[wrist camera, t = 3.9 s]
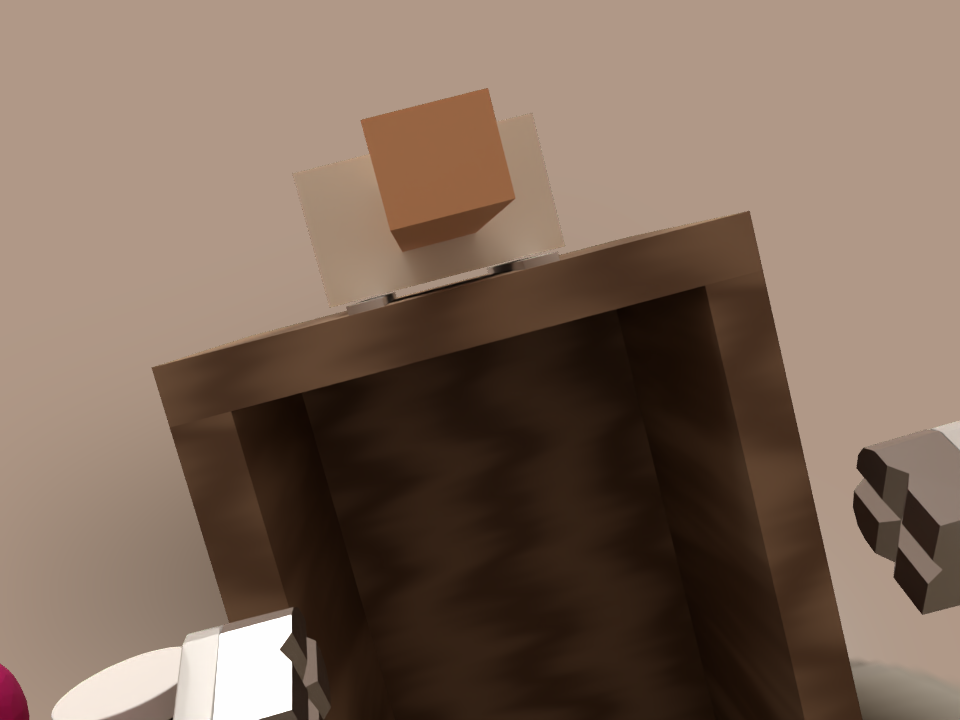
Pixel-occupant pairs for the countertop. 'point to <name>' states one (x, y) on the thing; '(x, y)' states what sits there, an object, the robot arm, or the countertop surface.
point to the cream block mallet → (429, 199)
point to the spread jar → (126, 690)
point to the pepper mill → (11, 697)
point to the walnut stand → (529, 492)
